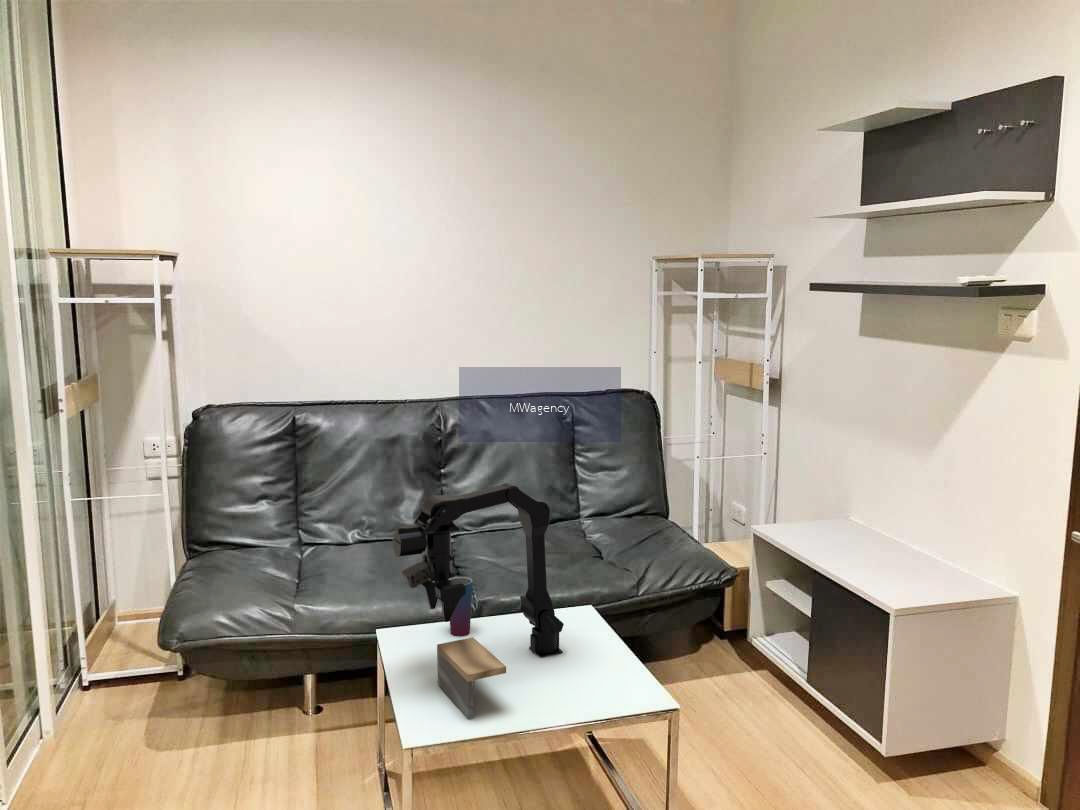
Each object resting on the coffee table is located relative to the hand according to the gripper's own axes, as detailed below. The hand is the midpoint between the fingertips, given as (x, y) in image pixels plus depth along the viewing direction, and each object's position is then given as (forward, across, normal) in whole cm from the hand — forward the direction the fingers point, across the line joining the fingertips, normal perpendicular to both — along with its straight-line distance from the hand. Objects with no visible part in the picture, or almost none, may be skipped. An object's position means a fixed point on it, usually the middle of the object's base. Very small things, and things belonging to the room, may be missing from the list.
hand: (439, 615), depth 201 cm
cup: (+15, -20, +13) cm, 28 cm away
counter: (+15, +14, +2) cm, 21 cm away
